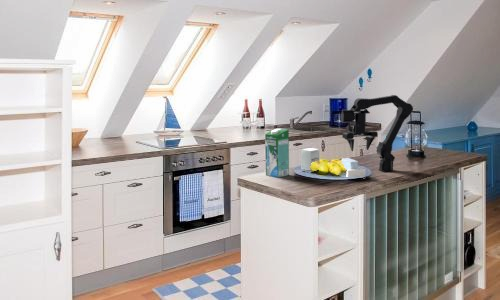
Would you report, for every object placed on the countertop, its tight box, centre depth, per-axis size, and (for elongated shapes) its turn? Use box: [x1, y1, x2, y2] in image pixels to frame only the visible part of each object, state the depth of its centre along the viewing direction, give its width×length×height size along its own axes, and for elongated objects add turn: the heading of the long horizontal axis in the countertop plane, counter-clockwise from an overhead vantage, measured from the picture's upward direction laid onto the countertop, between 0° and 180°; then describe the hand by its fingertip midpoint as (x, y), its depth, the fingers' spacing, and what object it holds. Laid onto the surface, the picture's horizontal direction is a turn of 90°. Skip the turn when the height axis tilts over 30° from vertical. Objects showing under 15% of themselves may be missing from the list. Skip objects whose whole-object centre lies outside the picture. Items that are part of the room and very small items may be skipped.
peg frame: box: [344, 167, 366, 180], centre depth 255 cm, size 15×10×5 cm, turn 17°
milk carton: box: [264, 127, 290, 178], centre depth 260 cm, size 9×9×25 cm
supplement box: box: [300, 147, 320, 170], centre depth 268 cm, size 7×7×13 cm
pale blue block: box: [341, 157, 359, 170], centre depth 254 cm, size 10×4×5 cm, turn 17°
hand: (359, 150), depth 262 cm, fingers open, 9 cm apart
